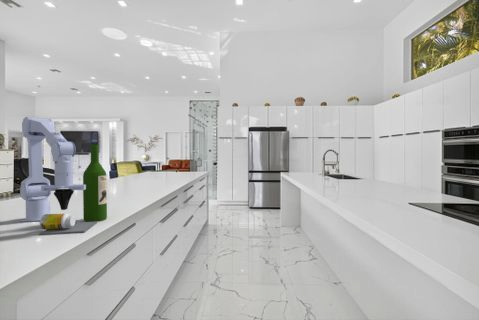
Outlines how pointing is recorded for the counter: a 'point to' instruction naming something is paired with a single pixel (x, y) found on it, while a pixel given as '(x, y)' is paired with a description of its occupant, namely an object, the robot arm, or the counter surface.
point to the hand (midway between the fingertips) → (64, 209)
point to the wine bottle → (95, 189)
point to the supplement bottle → (56, 221)
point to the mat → (71, 229)
